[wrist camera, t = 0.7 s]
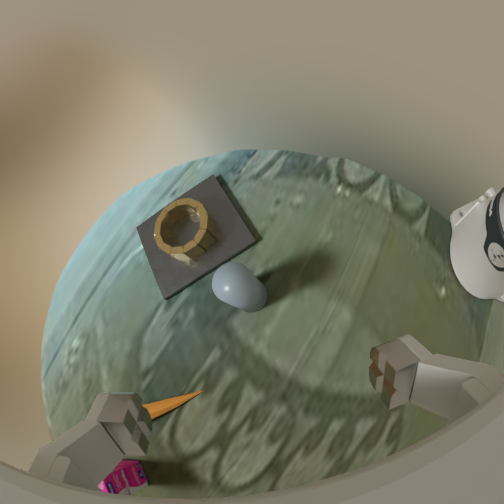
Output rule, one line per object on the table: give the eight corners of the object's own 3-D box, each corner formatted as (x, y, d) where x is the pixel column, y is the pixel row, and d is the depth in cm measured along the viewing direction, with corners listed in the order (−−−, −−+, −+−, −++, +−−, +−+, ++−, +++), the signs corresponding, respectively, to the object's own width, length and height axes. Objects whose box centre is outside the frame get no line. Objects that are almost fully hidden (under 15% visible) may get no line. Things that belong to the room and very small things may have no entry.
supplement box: (150, 485, 35) (114, 506, 25) (128, 482, 36) (90, 500, 26) (141, 459, 38) (101, 477, 27) (118, 458, 38) (78, 472, 28)
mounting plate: (215, 177, 52) (213, 174, 51) (257, 242, 46) (255, 240, 45) (139, 229, 52) (136, 227, 52) (166, 300, 46) (164, 299, 45)
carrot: (124, 426, 41) (116, 438, 37) (110, 408, 41) (101, 419, 37) (213, 394, 42) (210, 407, 38) (199, 373, 42) (195, 384, 38)
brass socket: (201, 197, 50) (193, 188, 47) (224, 239, 46) (217, 231, 43) (157, 227, 50) (147, 219, 47) (176, 271, 46) (165, 265, 43)
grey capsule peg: (257, 274, 44) (239, 254, 35) (273, 301, 42) (259, 288, 33) (230, 291, 44) (205, 275, 35) (245, 318, 42) (223, 310, 33)
